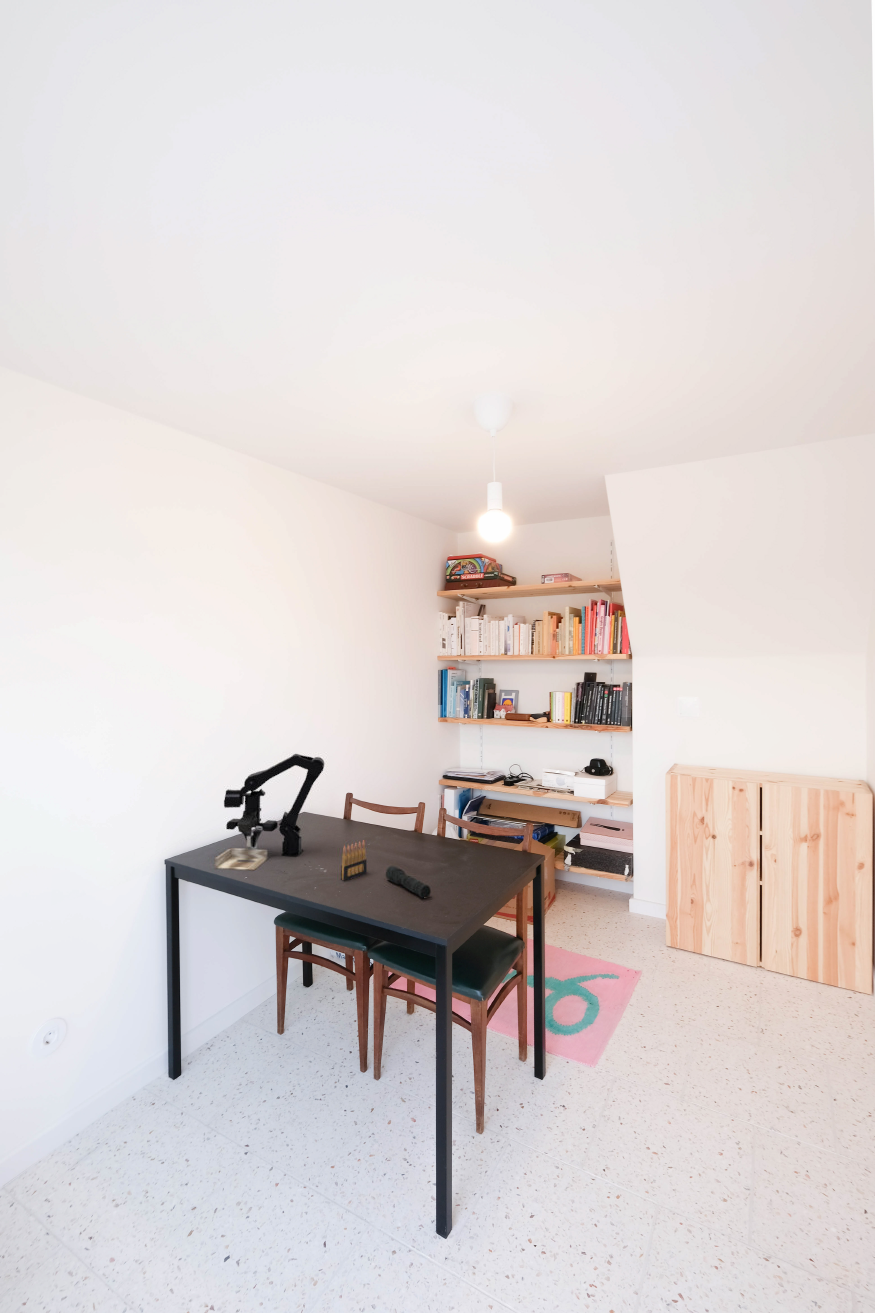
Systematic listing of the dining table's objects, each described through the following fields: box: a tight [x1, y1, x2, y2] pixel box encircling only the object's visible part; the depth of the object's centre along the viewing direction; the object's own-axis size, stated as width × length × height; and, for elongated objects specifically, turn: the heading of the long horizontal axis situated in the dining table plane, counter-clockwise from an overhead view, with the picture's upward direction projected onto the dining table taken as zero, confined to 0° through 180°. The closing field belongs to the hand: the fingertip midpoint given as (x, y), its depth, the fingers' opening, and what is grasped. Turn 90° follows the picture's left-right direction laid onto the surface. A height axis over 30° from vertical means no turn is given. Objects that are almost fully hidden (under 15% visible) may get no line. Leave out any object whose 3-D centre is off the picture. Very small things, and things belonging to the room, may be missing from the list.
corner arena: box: [214, 847, 268, 871], centre depth 219 cm, size 15×12×4 cm
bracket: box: [240, 832, 258, 850], centre depth 229 cm, size 6×6×8 cm
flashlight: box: [385, 865, 432, 899], centre depth 198 cm, size 5×21×5 cm, turn 37°
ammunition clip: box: [340, 839, 368, 882], centre depth 208 cm, size 11×2×12 cm, turn 139°
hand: (251, 847), depth 229 cm, fingers closed on bracket
